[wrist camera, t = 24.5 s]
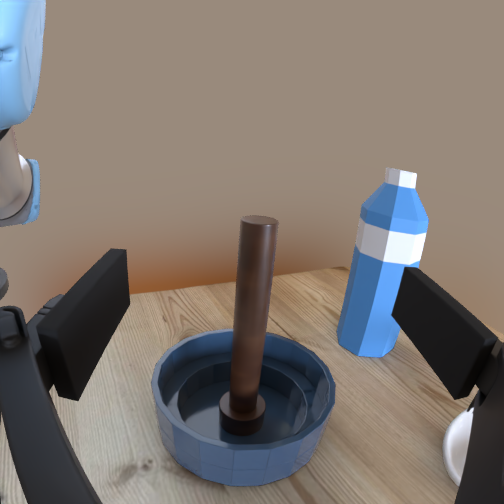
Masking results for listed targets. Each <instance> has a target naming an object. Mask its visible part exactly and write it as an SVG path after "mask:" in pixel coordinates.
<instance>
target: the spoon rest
mask: <svg viewBox="0 0 504 504" xmlns="http://www.w3.org/2000/svg"><path fill="white" fill-rule="evenodd" d="M467 409H468V408H467ZM467 409H466V410H464V411H463V412H462V413H460V414H459V415H458V416H457V417H456V418H455V419H454V420H453V421H452V422H451V423H450V425H449V426H448V428H447V430H446V433H445V436H444V440H443V448H442V451H443V461H444V465H445V468H446V470H447V472H448V474H449V476H450V477H451V479H452V480H453V481H454V483H455V484H456V485H457V486H458V487H459V485H460V481H461V477H462V473H463V469H464V464H465V460H466V455H467V450H468V444H469V438H470V432H471V426H472V419H473V414H472V412H473V410H474V407H473V408H471V409H470V411H469V412H466V411H467Z"/></svg>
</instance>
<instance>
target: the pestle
mask: <svg viewBox="0 0 504 504" xmlns="http://www.w3.org/2000/svg"><path fill="white" fill-rule="evenodd" d="M277 233H278V221H277V220H276V219H274V218H270V217H266V216H245V217H242V218H241V224H240V236H239V237H240V238H239V251H238V266H237V279H236V294H235V309H234V325H233V341H232V357H231V374H230V391H228V392H226V393H225V394H224V395H223V396H222V397H221V399H220V402H219V423H220V425H221V427H222V428H223V429H224V430H225V431H227V432H228V433H230V434H232V435H236V436H248V435H252V434H254V433H256V432H257V431H259V430H260V429H261V427H262V425H263V421H264V415H265V409H266V403H265V401H264V399H263V397H262V396H261V395H259V394H258V390H259V383H260V375H261V368H262V360H263V352H264V344H265V336H266V328H267V320H268V312H269V304H270V295H271V287H272V278H273V268H274V261H275V251H276V242H277Z"/></svg>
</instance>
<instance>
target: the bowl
mask: <svg viewBox="0 0 504 504" xmlns="http://www.w3.org/2000/svg"><path fill="white" fill-rule="evenodd" d="M232 341H233V329H221V330H214V331H206V332H203V333H200V334H197V335H194V336H191V337H188V338H185V339H183V340H182V341H180V342H179V343H177V344H175V345H174V346H172V347H171V348H169V349H168V350H167V351H166V352H165V353H164V355H163V356H162V357H161V358H160V360H159V361H158V362H157V363H156V365H155V369H154V373H153V377H152V381H151V387H152V393H153V399H154V405H155V411H156V417H157V422H158V427H159V431H160V434H161V438H162V442H163V445H164V446H165V447H166V448H167V450H168V451H169V452H170V454H171V455H172V456H173V457H174V459H175V460H176V461H177V463H179V464H180V465H182V466H183V467H185V468H186V469H188V470H190V471H191V472H193V473H194V474H196V475H197V476H199V477H201V478H203V479H206V480H210V481H213V482H217V483H221V484H225V485H229V486H260V485H265V484H268V483H271V482H274V481H277V480H280V479H283V478H286V477H289V476H290V475H292V474H293V473H294V472H296V471H297V470H298V469H300V468H301V467H302V466H304V465H305V464H306V463H307V462H309V461H310V459H311V457H312V456H313V454H314V452H315V451H316V449H317V447H318V446H319V444H320V442H321V439H322V437H323V434H324V431H325V429H326V426H327V424H328V421H329V418H330V415H331V413H332V410H333V407H334V404H335V386H336V385H335V382H334V380H333V378H332V375H331V373H330V371H329V368H328V367H327V366H326V365H325V364H324V362H323V361H322V360H321V359H320V358H319V357H318V356H317V355H316V354H315V353H314V352H312V351H311V350H309V349H307V348H306V347H304V346H303V345H301V344H299V343H298V342H296V341H293V340H291V339H288V338H285V337H282V336H280V335H277V334H274V333H269V332H266V336H265V344H264V352H263V360H262V368H261V375H260V383H259V390H258V394H259V395H261V396H262V397H263V399H264V401H265V403H266V409H265V415H264V421H263V425H262V427H261V429H260V430H259V431H257V432H256V433H254V434H252V435H248V436H236V435H232V434H230V433H228V432H227V431H225V430H224V429H223V428H222V427H221V425H220V423H219V402H220V399H221V397H222V396H223V395H224V394H225V393H226V392H228V391H230V374H231V357H232Z"/></svg>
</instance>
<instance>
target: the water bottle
mask: <svg viewBox="0 0 504 504" xmlns="http://www.w3.org/2000/svg"><path fill="white" fill-rule="evenodd" d="M416 176H417V174H416V173H412V172H407V171H403V170H398V169H392V168H386V174H385V182H384V183H383V184H382V185H381V186H380V187H379V188H378V189H377V190H376V191H375V192H374V193H373V194H372V195H371V196H370V197H369V198H368V199H367V200H366V201H365V202H364V203H363V204H362V207H361V214H360V220H359V226H358V232H357V238H356V243H355V249H354V254H353V259H352V264H351V270H350V274H349V279H348V284H347V289H346V293H345V298H344V302H343V307H342V311H341V316H340V320H339V324H338V328H337V336H338V342H339V345H341V346H342V347H344V348H346V349H347V350H349V351H351V352H352V353H354V354H356V355H357V356H366V357H383V356H384V355H385V354H387V353H388V352H389V351H391V350H392V349H393V348H394V345H395V343H396V340H397V337H398V334H399V331H400V328H401V327H400V326H399V325H398V323H397V322H396V321H395V320H394V318H393V317H392V316H391V314H392V310H393V307H394V303H395V300H396V297H397V293H398V289H399V286H400V282H401V278H402V274H403V270H404V267H417V268H418V266H419V262H420V258H421V254H422V250H423V245H424V240H425V236H426V232H427V227H428V222H429V220H428V217H427V215H426V212H425V210H424V208H423V205H422V203H421V201H420V199H419V196H418V194H417V192H416V190H415V184H416Z"/></svg>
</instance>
